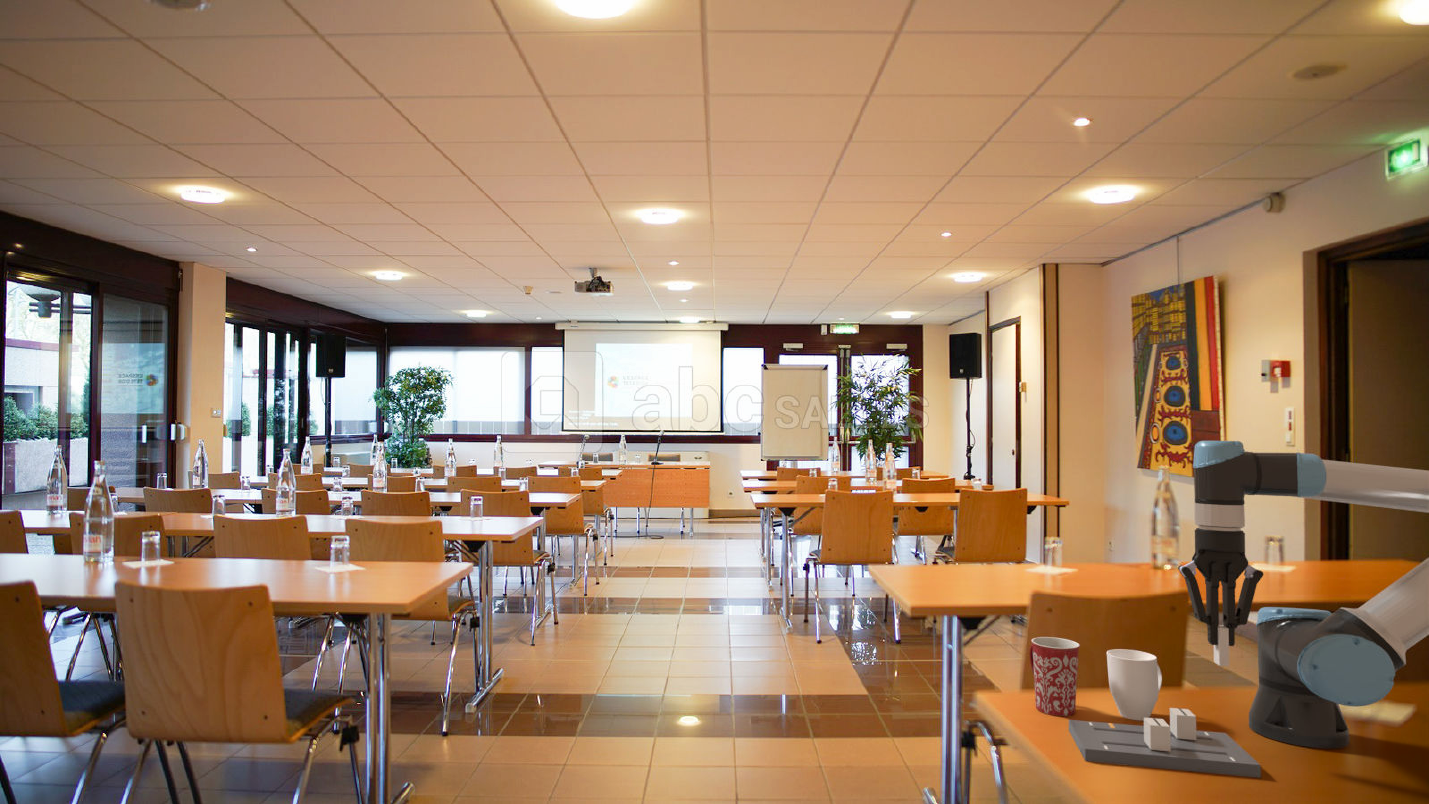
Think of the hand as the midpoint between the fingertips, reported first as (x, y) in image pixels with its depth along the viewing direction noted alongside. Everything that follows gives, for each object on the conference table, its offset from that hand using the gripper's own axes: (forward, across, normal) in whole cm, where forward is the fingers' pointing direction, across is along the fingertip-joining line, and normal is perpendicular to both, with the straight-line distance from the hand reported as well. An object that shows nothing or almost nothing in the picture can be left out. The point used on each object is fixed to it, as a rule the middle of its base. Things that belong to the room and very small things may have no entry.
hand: (1221, 664), depth 142 cm
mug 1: (+15, +25, -18) cm, 34 cm away
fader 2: (+13, +6, 0) cm, 14 cm away
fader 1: (+13, +12, +7) cm, 19 cm away
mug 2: (+15, +9, -18) cm, 25 cm away
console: (+15, +11, +4) cm, 19 cm away
